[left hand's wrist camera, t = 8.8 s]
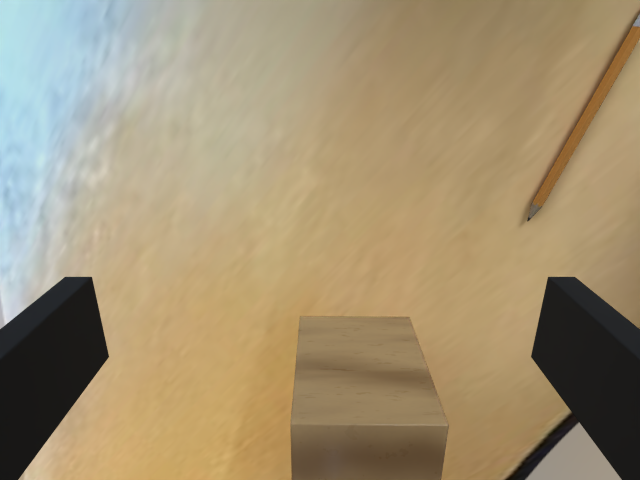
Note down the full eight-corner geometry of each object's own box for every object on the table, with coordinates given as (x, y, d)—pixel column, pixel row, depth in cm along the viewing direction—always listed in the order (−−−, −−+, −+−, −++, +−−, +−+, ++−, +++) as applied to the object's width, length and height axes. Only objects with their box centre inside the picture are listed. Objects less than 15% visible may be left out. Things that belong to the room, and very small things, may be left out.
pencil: (644, -1, 33) (520, 218, 40) (658, -1, 33) (529, 223, 39) (648, 4, 34) (525, 219, 40) (662, 4, 33) (534, 224, 39)
